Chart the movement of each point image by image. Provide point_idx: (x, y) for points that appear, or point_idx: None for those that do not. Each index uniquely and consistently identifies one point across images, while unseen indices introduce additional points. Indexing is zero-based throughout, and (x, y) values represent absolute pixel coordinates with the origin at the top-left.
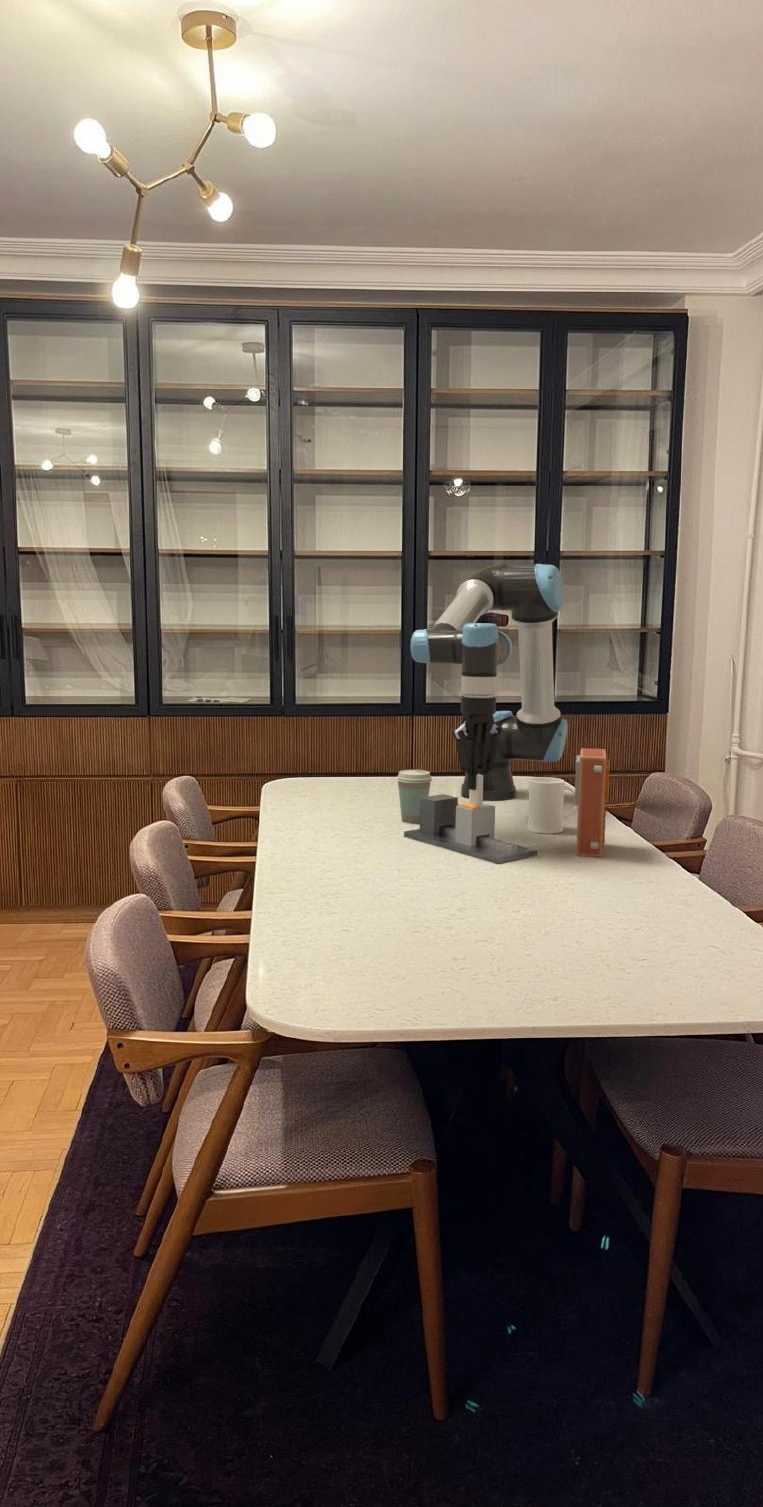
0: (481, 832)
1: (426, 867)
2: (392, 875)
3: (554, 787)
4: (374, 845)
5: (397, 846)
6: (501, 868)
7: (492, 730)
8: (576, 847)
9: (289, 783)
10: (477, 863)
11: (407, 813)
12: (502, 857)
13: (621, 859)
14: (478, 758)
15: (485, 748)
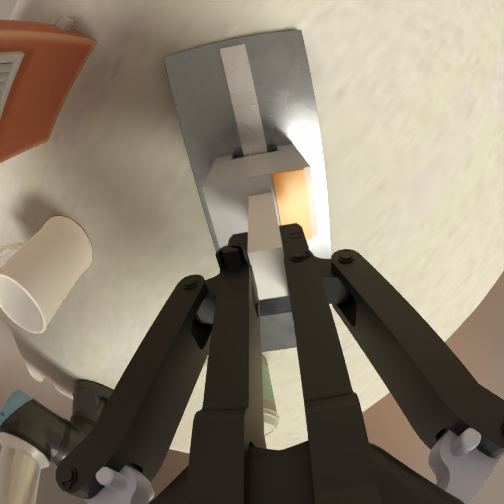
0: (261, 155)
1: (433, 93)
2: (487, 95)
3: (10, 268)
4: (406, 263)
5: (385, 243)
6: (311, 3)
7: (131, 491)
8: (87, 41)
9: None
10: (335, 56)
11: (266, 368)
12: (283, 31)
13: (50, 13)
14: (293, 312)
15: (225, 374)
